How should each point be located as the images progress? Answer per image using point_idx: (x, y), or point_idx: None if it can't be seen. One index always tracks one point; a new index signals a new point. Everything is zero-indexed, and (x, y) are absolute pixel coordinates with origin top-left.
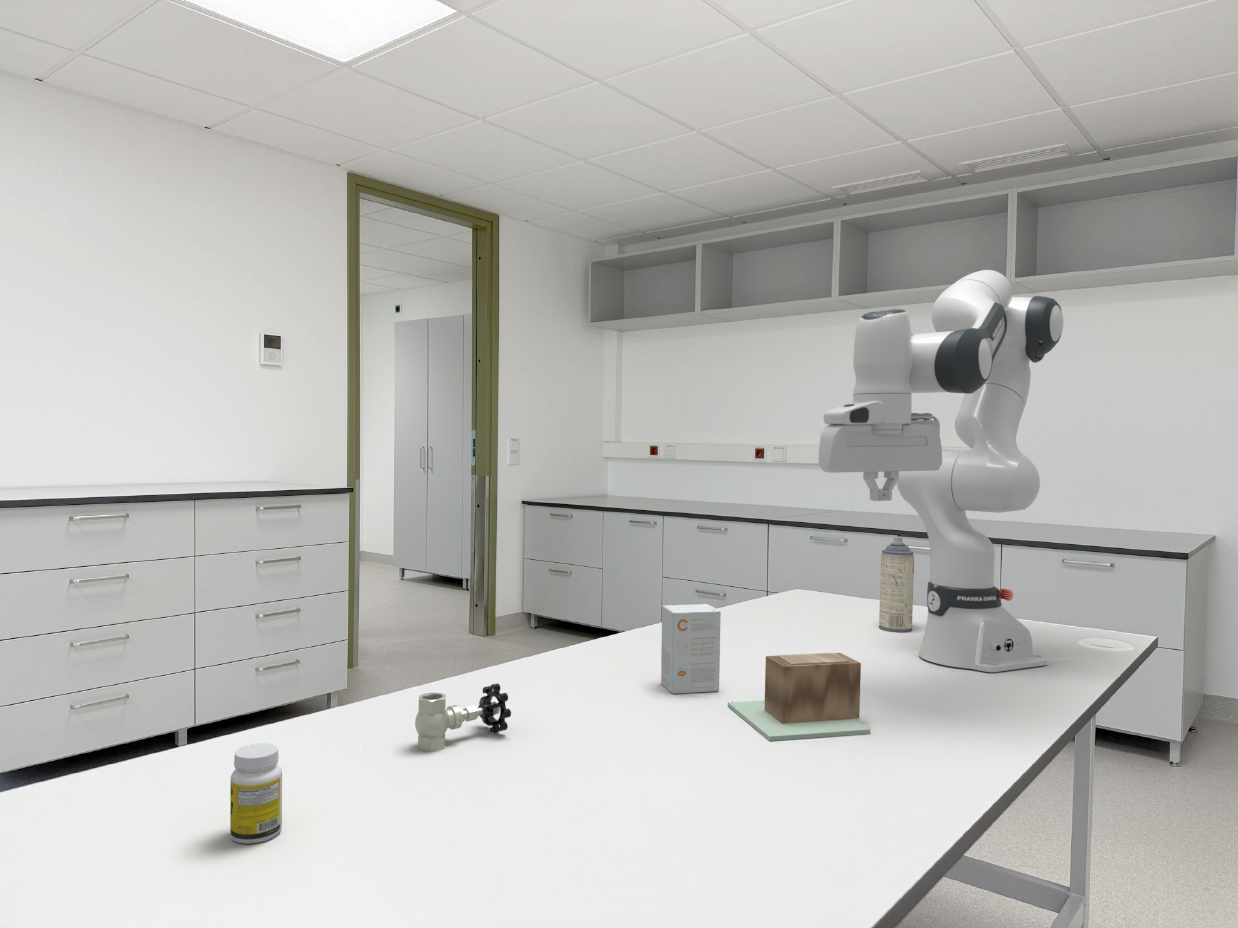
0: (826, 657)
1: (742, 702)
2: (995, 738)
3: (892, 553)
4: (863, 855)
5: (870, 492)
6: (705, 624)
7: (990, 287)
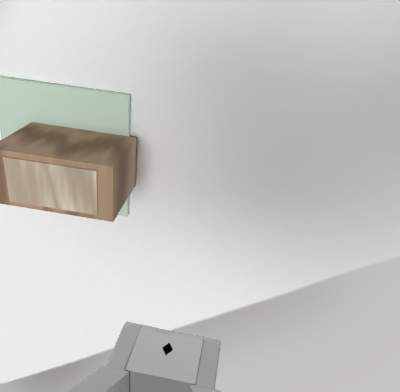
0: (73, 189)
1: (12, 82)
2: (250, 265)
3: None
4: (14, 352)
5: (114, 353)
6: None
7: None
